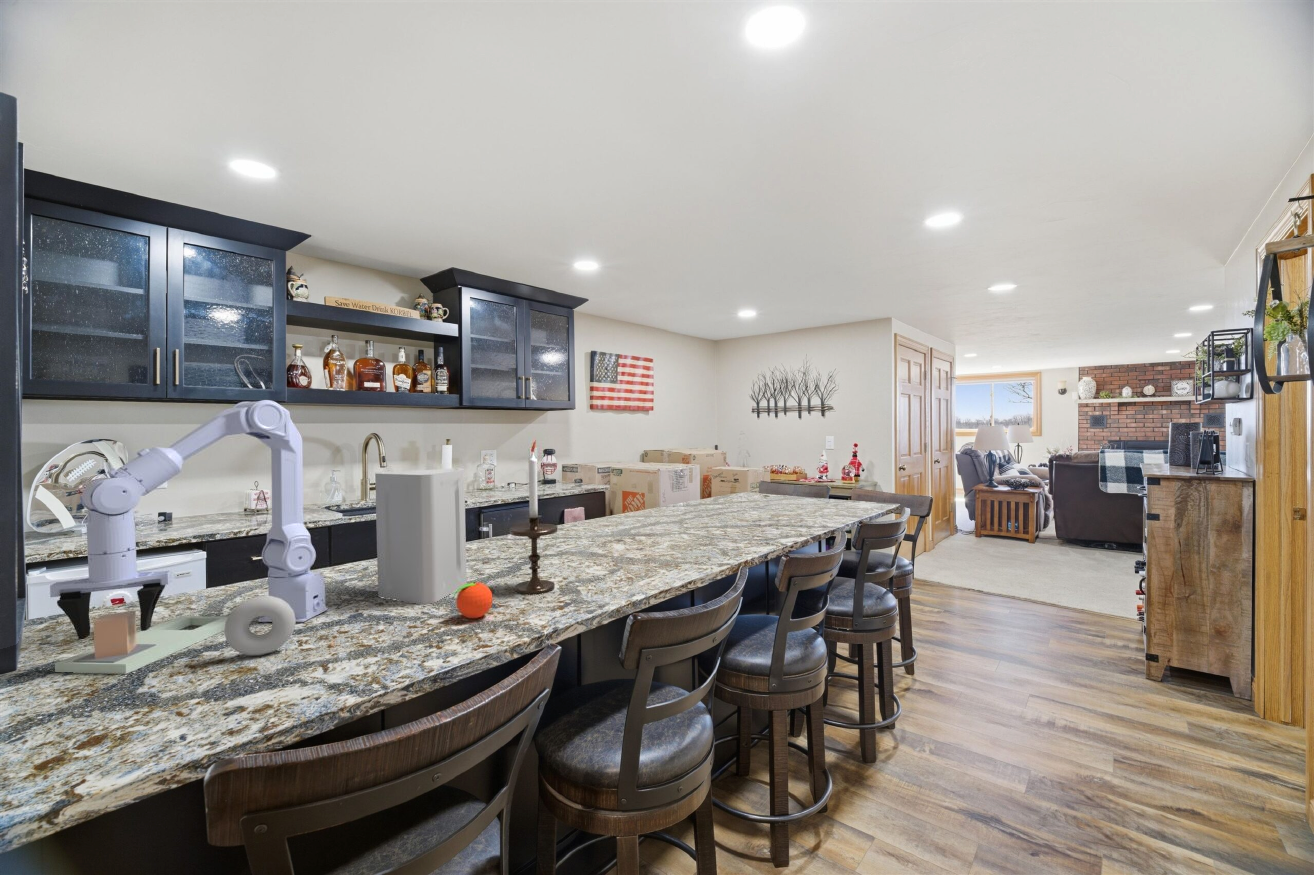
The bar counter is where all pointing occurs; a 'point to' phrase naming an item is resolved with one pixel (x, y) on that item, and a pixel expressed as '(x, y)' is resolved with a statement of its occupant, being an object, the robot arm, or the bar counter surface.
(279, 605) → the donut
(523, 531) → the candlestick
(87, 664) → the pocket board
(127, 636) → the terracotta block
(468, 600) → the clementine
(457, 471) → the grey storage bin
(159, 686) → the bar counter surface
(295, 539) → the robot arm
